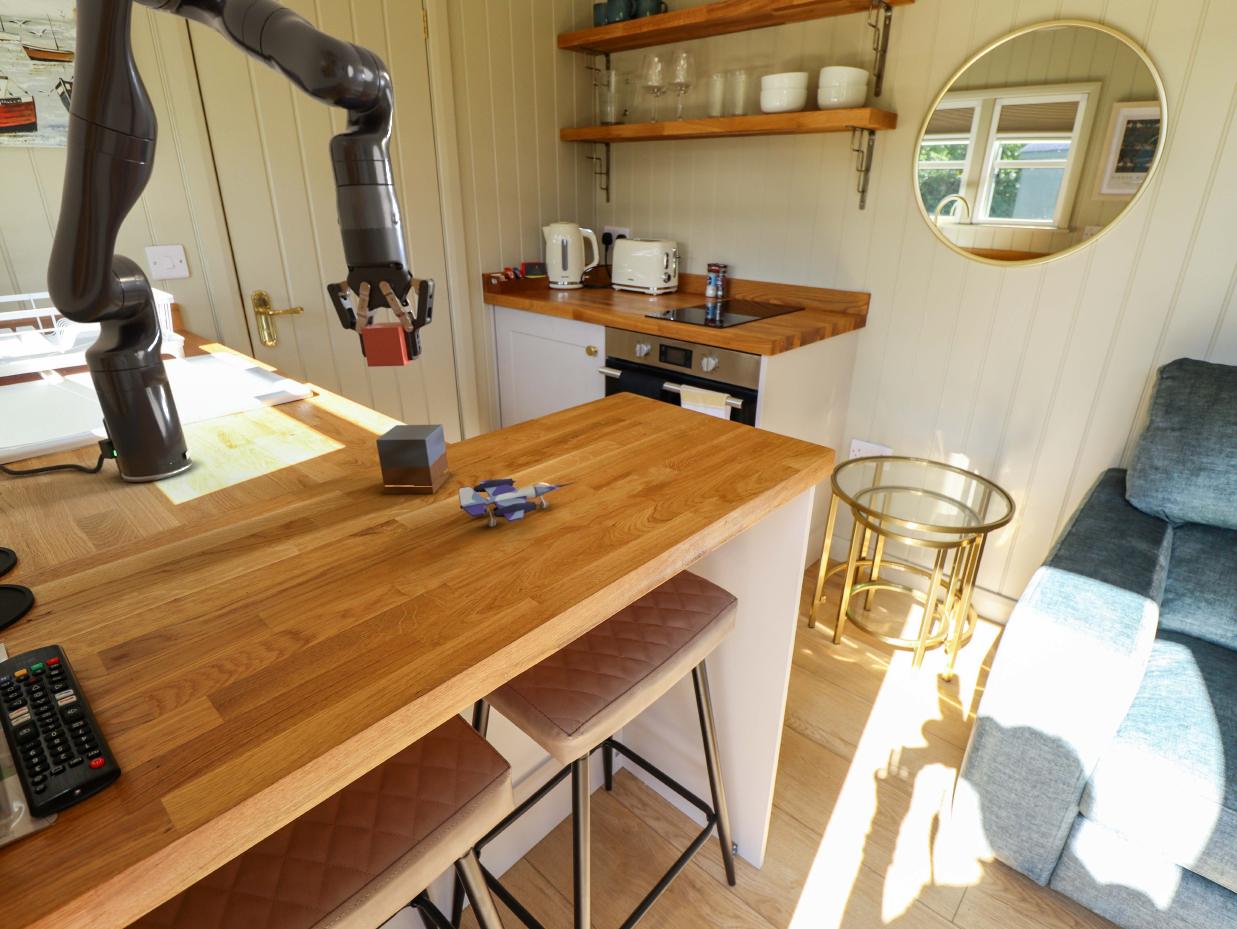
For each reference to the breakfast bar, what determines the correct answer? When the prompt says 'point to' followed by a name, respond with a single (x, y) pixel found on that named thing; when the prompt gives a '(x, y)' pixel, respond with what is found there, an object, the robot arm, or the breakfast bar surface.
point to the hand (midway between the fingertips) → (393, 359)
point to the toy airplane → (503, 499)
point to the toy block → (385, 344)
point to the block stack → (413, 458)
